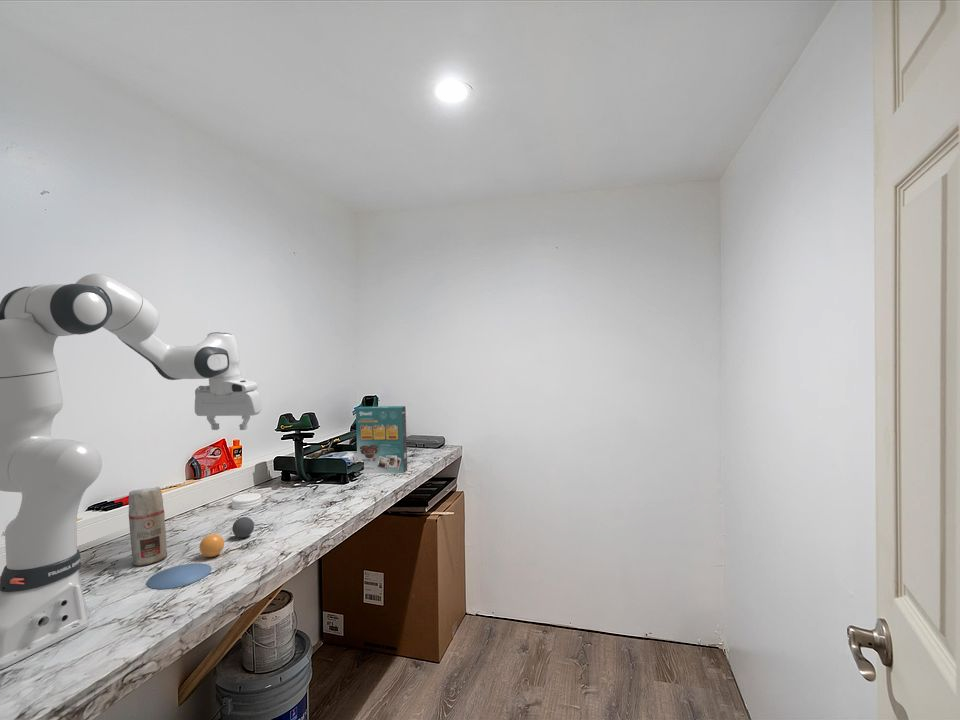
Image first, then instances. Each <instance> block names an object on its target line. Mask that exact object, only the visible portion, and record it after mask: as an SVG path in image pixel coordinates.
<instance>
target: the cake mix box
mask: <svg viewBox="0 0 960 720" xmlns="http://www.w3.org/2000/svg"><path fill="white" fill-rule="evenodd" d="M406 411H407V410H406V405H404V406H403V405H400V406H399V405H398V406H397V405H396V406H393V405H392V406H391V405H389V406H387V405H386V406H385V405H384V406H379V405H378V406H359V407H355V427H356V460H357V459H358V460H359V461H363V462H364V470H363V471H361V472H360V473H359V474H405V473H407V471H408V449H407V447H408V445H407V418H406V417H407V416H406Z"/></svg>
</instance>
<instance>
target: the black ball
mask: <svg viewBox="0 0 960 720" xmlns="http://www.w3.org/2000/svg"><path fill="white" fill-rule="evenodd" d="M254 528H255V522H254V521H253V519H252V518H250V517H248V516H241V517H239V518H237V519H236V520H235V521H234V523H233V525H232V528H231V529H232V533H233V534H234V536H235V537H237V538H241V539H242V538H243V539H244V538H247V537H249V536H251V534H252V533H253V532H254Z"/></svg>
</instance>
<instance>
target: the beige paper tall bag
mask: <svg viewBox="0 0 960 720" xmlns="http://www.w3.org/2000/svg"><path fill="white" fill-rule="evenodd" d="M163 499H164V498H163V493H162V488H161V486H155V487H148V488H141V489H135V490H131V491H129V492H128V522H129V533H130V534H129V536H130V547H131V557H132V565H134V566H146V565H150V564H152V563H153V564H154V563H156V562H160V561H162V560H164V559H165V558H168V557H167V556H168V553H167V552H168V551H167V547H168V545H167V532H166V531H167V530H166V519H165V518H166V517H165V514H166V513H165V508H164V500H163Z"/></svg>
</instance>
